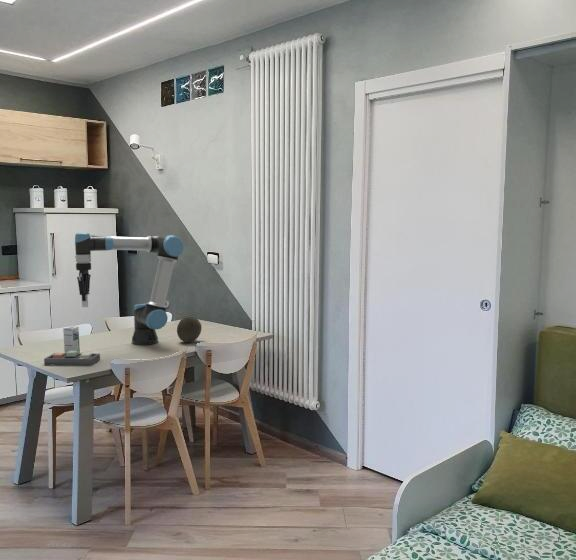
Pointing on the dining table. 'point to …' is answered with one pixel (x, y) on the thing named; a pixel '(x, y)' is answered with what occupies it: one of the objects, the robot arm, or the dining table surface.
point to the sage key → (72, 353)
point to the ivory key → (86, 355)
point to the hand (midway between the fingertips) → (85, 306)
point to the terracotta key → (58, 355)
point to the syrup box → (71, 339)
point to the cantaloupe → (189, 329)
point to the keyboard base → (72, 360)
